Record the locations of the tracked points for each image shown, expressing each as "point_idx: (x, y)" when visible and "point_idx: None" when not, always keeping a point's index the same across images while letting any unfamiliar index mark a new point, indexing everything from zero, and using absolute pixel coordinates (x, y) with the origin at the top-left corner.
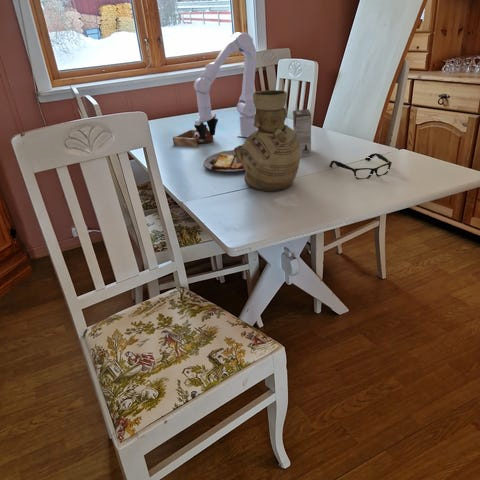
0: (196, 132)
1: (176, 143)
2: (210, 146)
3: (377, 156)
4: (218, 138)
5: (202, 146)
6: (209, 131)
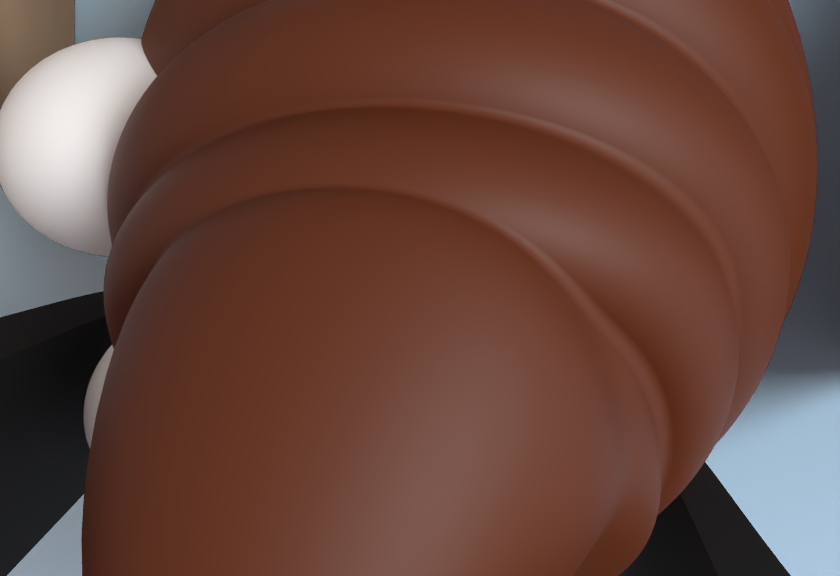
0: (23, 177)
1: None
2: None
3: None
4: (817, 510)
5: (89, 283)
6: (680, 510)
